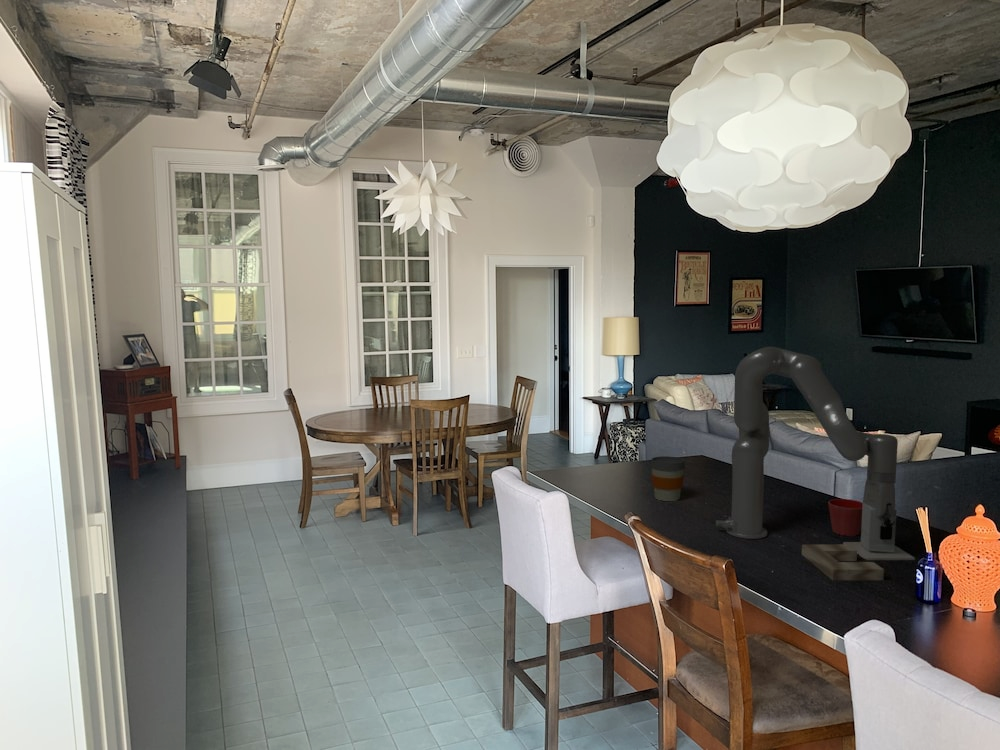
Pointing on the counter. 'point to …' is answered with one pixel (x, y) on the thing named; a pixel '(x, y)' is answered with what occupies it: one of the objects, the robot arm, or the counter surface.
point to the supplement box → (875, 531)
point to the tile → (879, 553)
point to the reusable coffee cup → (667, 477)
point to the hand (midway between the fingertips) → (878, 534)
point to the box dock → (829, 565)
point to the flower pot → (846, 516)
